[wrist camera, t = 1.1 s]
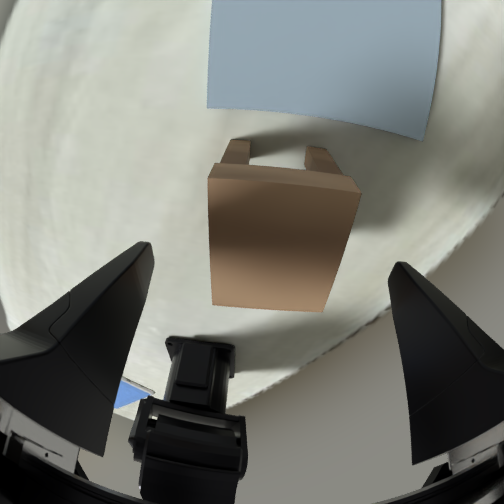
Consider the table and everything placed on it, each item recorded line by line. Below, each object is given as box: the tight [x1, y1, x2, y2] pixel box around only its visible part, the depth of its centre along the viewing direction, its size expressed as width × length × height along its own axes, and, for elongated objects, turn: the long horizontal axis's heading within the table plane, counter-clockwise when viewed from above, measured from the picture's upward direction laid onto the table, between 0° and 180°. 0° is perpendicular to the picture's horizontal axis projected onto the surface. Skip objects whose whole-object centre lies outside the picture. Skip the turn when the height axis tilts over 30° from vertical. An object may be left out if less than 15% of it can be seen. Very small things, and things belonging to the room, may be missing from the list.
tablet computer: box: [114, 377, 154, 409], centre depth 36 cm, size 19×13×1 cm, turn 138°
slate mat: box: [207, 0, 441, 141], centre depth 8 cm, size 11×11×1 cm
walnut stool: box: [208, 140, 362, 312], centre depth 12 cm, size 6×5×6 cm
